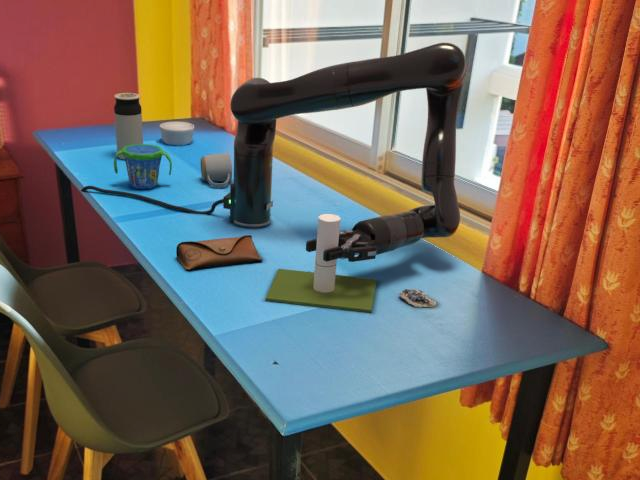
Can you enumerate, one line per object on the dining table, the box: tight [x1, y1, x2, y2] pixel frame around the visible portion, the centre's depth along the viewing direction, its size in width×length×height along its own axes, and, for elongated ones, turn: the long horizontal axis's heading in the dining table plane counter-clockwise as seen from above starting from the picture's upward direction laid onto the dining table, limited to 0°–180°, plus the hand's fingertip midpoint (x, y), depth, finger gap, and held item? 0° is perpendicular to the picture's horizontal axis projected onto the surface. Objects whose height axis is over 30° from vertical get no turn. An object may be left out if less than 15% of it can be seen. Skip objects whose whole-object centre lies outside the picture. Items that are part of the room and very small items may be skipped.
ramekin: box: [159, 120, 195, 146], centre depth 250 cm, size 11×11×5 cm
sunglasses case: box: [175, 234, 263, 271], centre depth 170 cm, size 18×7×7 cm, turn 112°
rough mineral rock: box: [397, 288, 437, 308], centre depth 155 cm, size 7×8×2 cm
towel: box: [265, 268, 378, 314], centre depth 158 cm, size 21×15×1 cm
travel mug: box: [113, 92, 144, 161], centre depth 231 cm, size 8×8×18 cm
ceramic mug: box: [200, 152, 233, 189], centre depth 215 cm, size 11×8×8 cm
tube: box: [313, 213, 341, 293], centre depth 154 cm, size 4×4×15 cm
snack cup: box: [113, 143, 173, 190], centre depth 210 cm, size 16×10×10 cm
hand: (316, 251), depth 152 cm, fingers open, 5 cm apart
